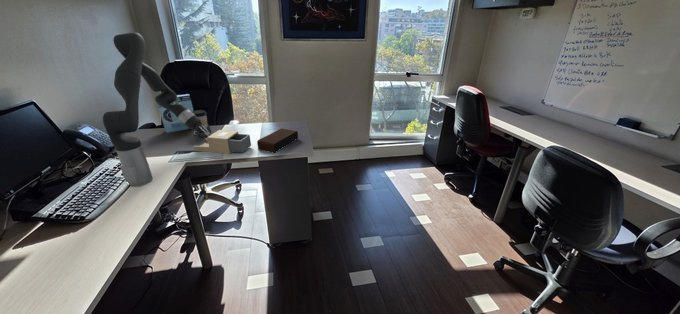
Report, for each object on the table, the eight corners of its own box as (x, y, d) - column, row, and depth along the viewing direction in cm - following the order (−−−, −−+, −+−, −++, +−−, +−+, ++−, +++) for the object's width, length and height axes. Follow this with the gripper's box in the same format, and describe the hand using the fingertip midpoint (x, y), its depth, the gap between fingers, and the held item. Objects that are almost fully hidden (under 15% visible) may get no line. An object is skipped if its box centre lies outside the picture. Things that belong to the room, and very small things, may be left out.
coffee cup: (213, 132, 187) (209, 110, 180) (204, 137, 178) (199, 114, 172) (202, 130, 189) (197, 109, 182) (191, 135, 181) (186, 113, 174)
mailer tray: (242, 152, 155) (240, 141, 152) (210, 149, 158) (208, 138, 155) (251, 145, 163) (249, 134, 160) (220, 142, 167) (218, 132, 164)
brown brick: (283, 136, 180) (282, 127, 178) (298, 139, 175) (297, 130, 173) (258, 150, 161) (256, 140, 158) (274, 153, 156) (273, 144, 154)
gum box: (196, 125, 198) (188, 93, 188) (197, 127, 194) (189, 95, 184) (165, 131, 189) (155, 97, 179) (165, 133, 185) (155, 99, 175)
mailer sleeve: (229, 153, 156) (226, 138, 152) (194, 150, 159) (190, 135, 155) (240, 145, 166) (238, 131, 162) (207, 142, 170) (204, 128, 166)
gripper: (184, 118, 151) (209, 141, 154) (200, 111, 162) (223, 132, 165) (178, 127, 154) (203, 149, 157) (194, 119, 165) (216, 140, 169)
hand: (213, 140), depth 161 cm, fingers closed
